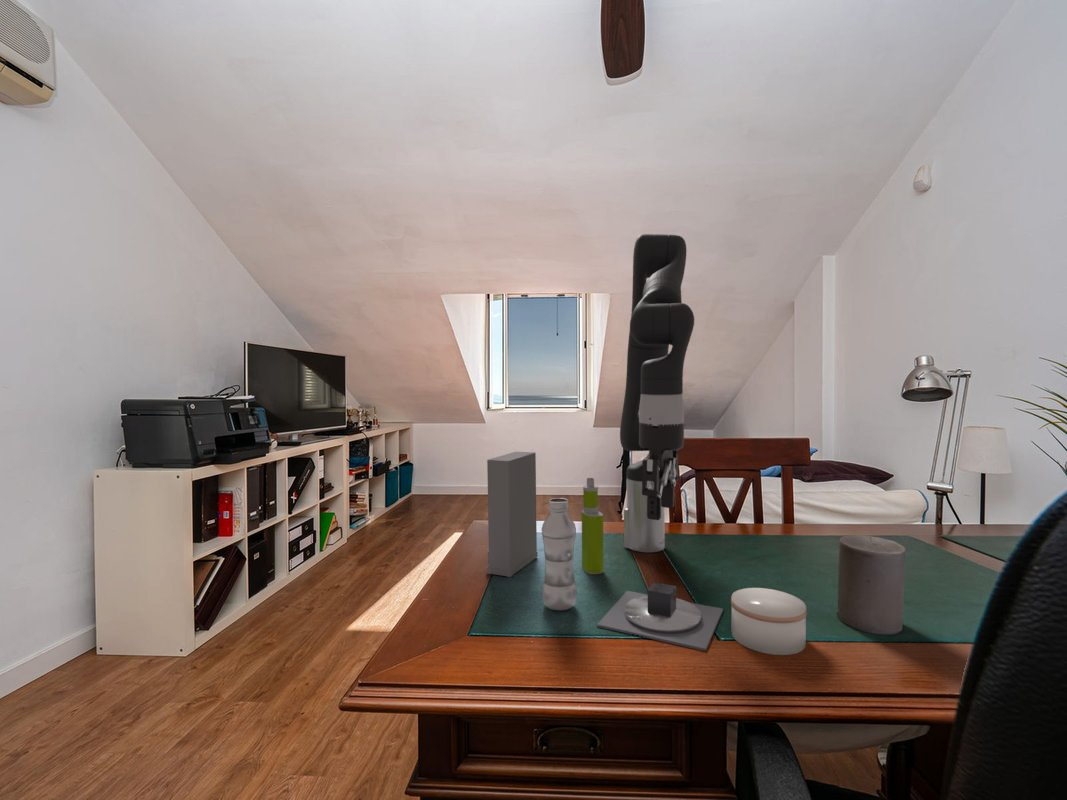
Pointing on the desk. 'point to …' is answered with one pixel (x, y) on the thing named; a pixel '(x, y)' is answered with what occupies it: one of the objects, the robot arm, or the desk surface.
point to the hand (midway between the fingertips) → (660, 513)
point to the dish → (768, 621)
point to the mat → (690, 639)
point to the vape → (592, 530)
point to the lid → (662, 611)
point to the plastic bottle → (559, 557)
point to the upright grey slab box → (511, 512)
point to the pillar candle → (871, 584)
